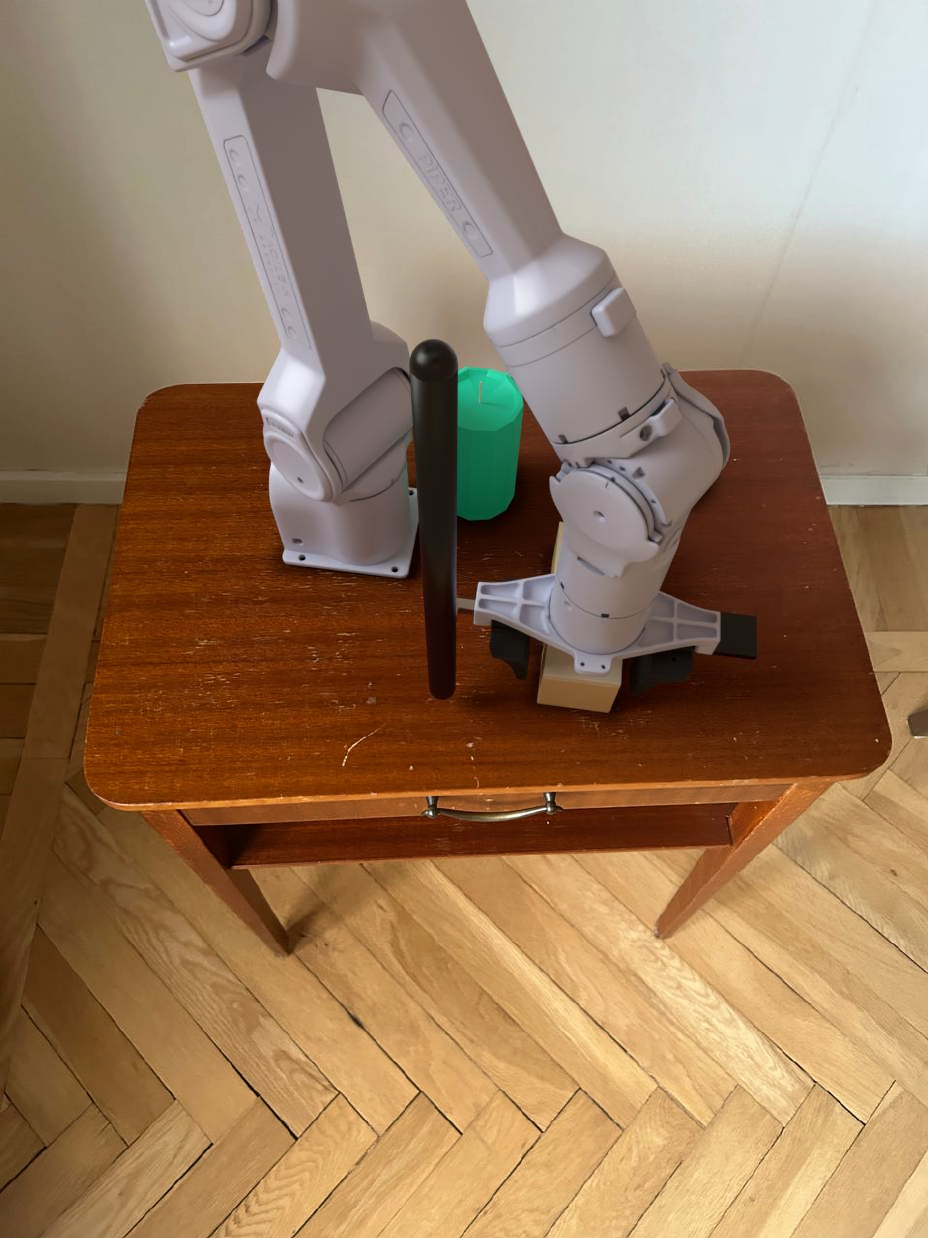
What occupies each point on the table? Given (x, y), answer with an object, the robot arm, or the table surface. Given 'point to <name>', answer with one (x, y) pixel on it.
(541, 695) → the beige block
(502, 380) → the candle
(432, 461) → the black upright rod
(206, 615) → the table surface
